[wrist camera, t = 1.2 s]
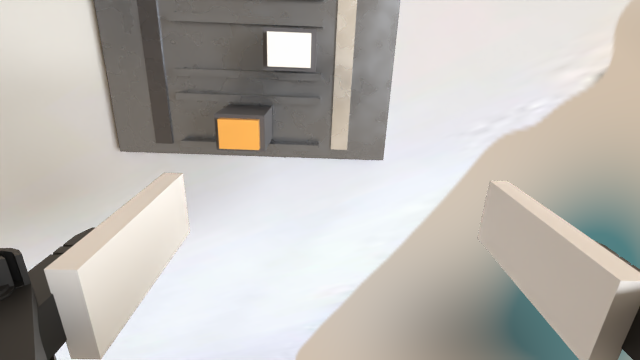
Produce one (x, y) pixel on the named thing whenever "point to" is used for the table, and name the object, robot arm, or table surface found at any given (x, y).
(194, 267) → the table surface
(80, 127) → the table surface
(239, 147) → the block
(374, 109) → the panel
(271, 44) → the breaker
